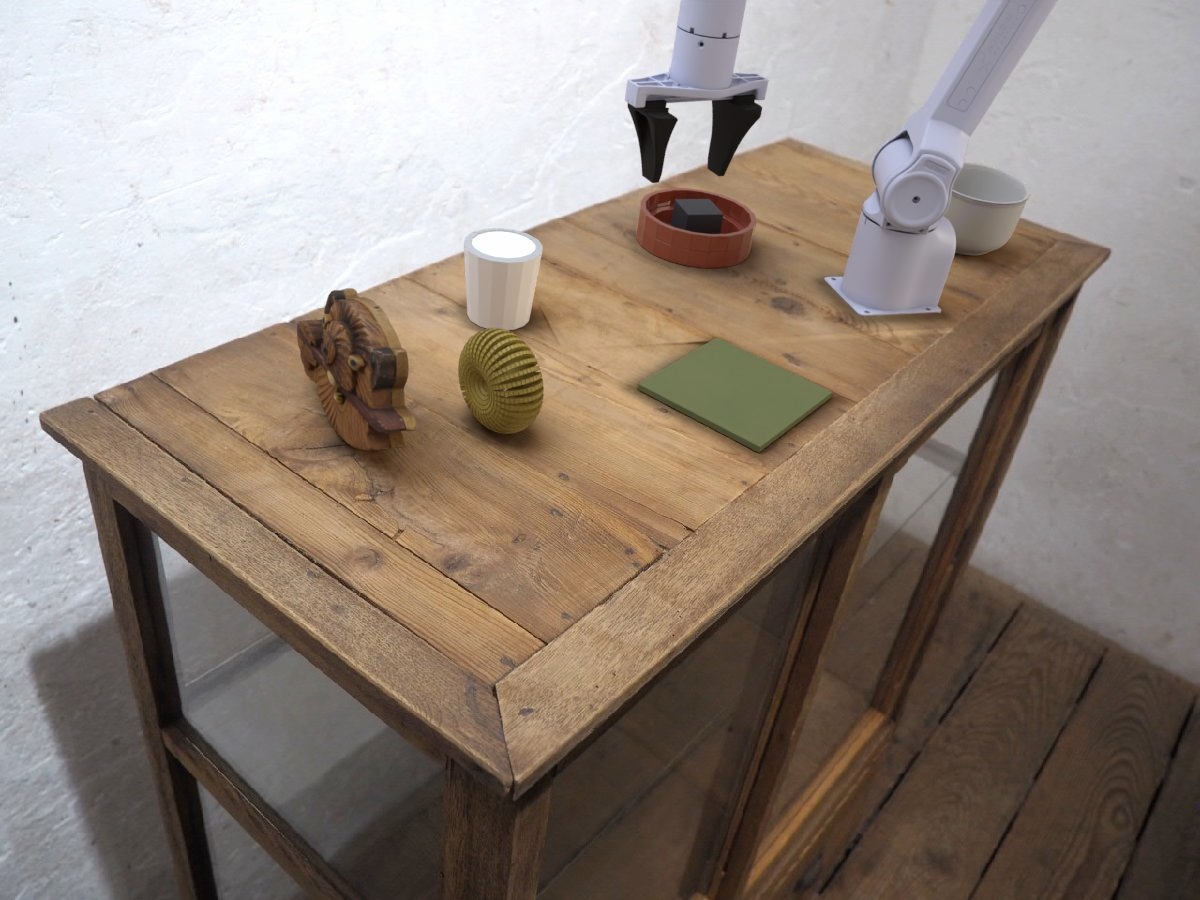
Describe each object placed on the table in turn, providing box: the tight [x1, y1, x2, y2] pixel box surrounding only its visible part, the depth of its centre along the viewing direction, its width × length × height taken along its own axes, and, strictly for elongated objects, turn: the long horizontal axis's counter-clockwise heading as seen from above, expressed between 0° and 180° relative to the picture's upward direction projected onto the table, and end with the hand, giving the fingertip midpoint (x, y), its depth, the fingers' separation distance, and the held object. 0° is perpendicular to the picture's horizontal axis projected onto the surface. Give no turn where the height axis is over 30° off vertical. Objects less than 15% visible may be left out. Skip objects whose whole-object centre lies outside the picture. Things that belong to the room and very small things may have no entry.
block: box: [670, 199, 724, 234], centre depth 110 cm, size 4×4×4 cm
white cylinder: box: [463, 227, 544, 331], centre depth 93 cm, size 7×7×7 cm
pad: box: [636, 337, 833, 453], centre depth 88 cm, size 12×12×1 cm
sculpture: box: [457, 328, 545, 435], centre depth 78 cm, size 8×4×8 cm, turn 40°
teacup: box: [943, 160, 1031, 257], centre depth 119 cm, size 14×11×8 cm
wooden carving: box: [296, 287, 417, 451], centre depth 75 cm, size 16×5×10 cm, turn 38°
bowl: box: [635, 187, 758, 269], centre depth 111 cm, size 12×12×4 cm
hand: (683, 175), depth 102 cm, fingers open, 7 cm apart
